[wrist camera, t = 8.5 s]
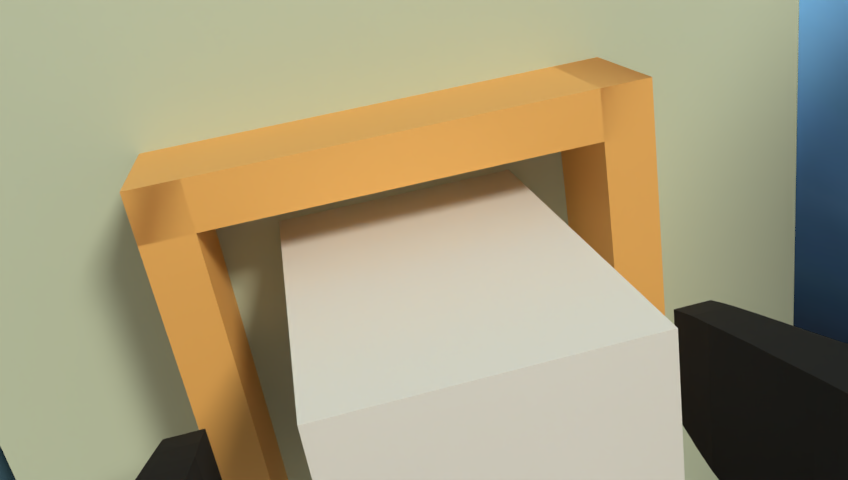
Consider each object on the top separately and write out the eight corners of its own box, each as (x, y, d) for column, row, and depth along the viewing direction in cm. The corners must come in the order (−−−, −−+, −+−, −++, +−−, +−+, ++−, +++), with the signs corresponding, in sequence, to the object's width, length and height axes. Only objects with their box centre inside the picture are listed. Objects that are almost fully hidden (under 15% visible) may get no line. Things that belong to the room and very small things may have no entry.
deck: (765, -152, 14) (893, -172, 11) (763, 490, 19) (849, 585, 16) (-159, 17, 12) (-282, 43, 9) (130, 673, 17) (106, 813, 15)
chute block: (508, 169, 14) (677, 327, 8) (539, 408, 16) (693, 666, 10) (278, 221, 13) (296, 425, 8) (340, 461, 15) (389, 760, 10)
